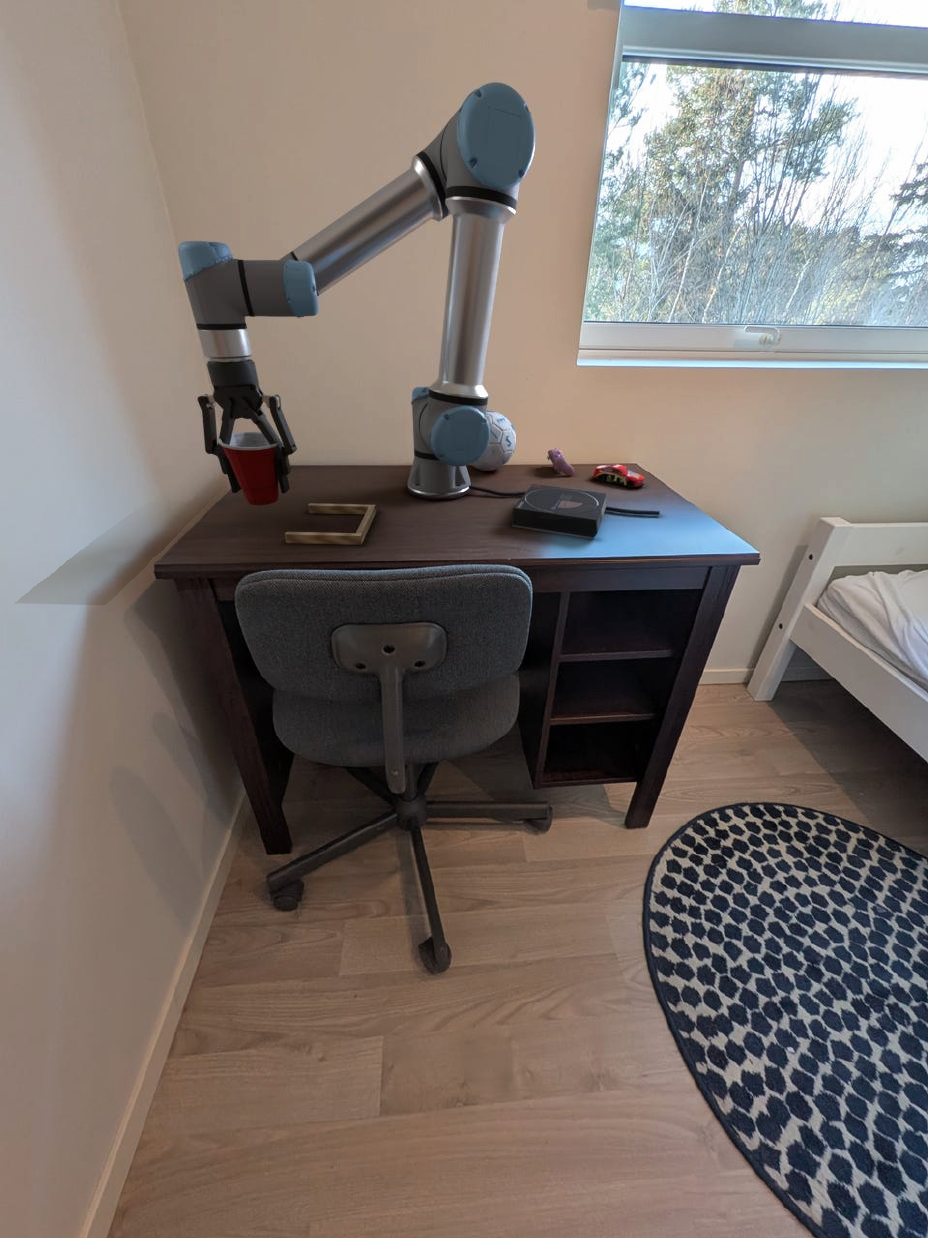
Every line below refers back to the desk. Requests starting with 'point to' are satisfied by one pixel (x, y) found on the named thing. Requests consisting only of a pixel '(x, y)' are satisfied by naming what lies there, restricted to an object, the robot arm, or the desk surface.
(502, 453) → the puzzle ball
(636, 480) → the race car
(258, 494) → the plastic cup
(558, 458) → the purple animal figurine
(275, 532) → the desk surface
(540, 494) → the portable cd player
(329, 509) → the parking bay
